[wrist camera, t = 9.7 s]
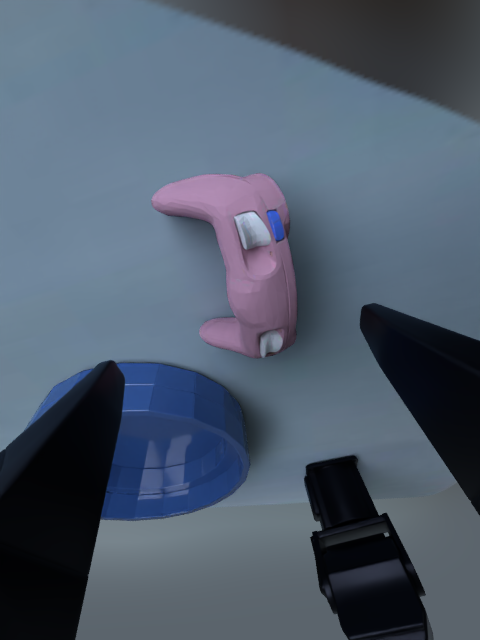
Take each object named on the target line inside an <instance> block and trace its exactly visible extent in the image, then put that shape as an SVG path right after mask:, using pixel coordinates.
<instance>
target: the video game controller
mask: <svg viewBox="0 0 480 640" xmlns="http://www.w3.org/2000/svg"><path fill="white" fill-rule="evenodd" d="M151 201H152V206H153V207H154V208H155V209H156V210H157V211H159V212H161V213H163V214H166V215H168V216H179V217H190V218H195V219H200V220H204V221H207V222H209V223H210V224H212V225H213V227H214V229H215V232H216V237H217V241H218V245H219V247H220V250H221V253H222V256H223V260H224V263H225V267H226V282H227V296H228V300H229V304H230V307H231V309H232V311H233V313H234V315H235V317H236V318H233V317H224V318H216V319H212V320H209V321H206V322H205V323H204V324H203V325H202V326H201V327H200V330H199V332H200V336H201V338H202V339H203V340H204V341H205V342H206V343H208V344H210V345H212V346H215V347H218V348H222V349H226V350H231V351H235V352H238V353H241V354H243V355H246V356H248V357H251V358H263V357H268V356H273V355H276V354H278V353H280V352H282V351H284V350H285V349H287V348H288V347H290V346H291V345H293V344H294V343H295V341H296V336H297V334H296V329H295V328H296V322H297V289H296V280H295V272H294V266H293V261H292V255H291V252H290V248H289V244H288V240H287V239H288V235H289V230H290V218H289V211H288V207H287V204H286V201H285V198H284V195H283V193H282V192H281V190H280V188H279V187H278V185H277V184H276V183H275V181H274V180H273V179H271V178H270V177H269V176H267V175H265V174H261V173H256V174H253V175H249V176H246V177H239V176H235V175H223V174H208V175H200V176H196V177H191V178H188V179H184V180H180V181H177V182H173V183H171V184H168V185H166V186H164V187H163V188H161V189H160V190H158V191H157V192H156V193H155V194H154V195H153V197H152V200H151Z"/></svg>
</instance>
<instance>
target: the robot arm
mask: <svg viewBox="0 0 480 640" xmlns="http://www.w3.org/2000/svg"><path fill="white" fill-rule="evenodd" d="M360 329H361V332H362V333H363V335H364V337H365V339H366V341H367V343H368V345H369V347H370V349H371V351H372V353H373V355H374V357H375V359H376V361H377V362H378V364H379V366H380V368H381V369H382V371H383V372H384V374H385V375H386V377H387V378H388V380H389V381H390V383H391V384H392V386H393V387H394V389H395V390H396V392H397V393H398V395H399V396H400V398H401V399H402V401H403V402H404V404H405V405H406V406H407V408H408V409H409V411H410V412H411V414H412V415H413V417H414V418H415V420H416V421H417V423H418V424H419V426H420V427H421V429H422V430H423V432H424V433H425V435H426V436H427V438H428V439H429V441H430V442H431V444H432V445H433V447H434V448H435V450H436V451H437V453H438V454H439V456H440V457H441V458H442V460H443V461H444V463H445V464H446V466H447V467H448V469H449V470H450V472H451V473H452V475H453V476H454V478H455V479H456V481H457V482H458V483H459V485H460V487H461V488H462V490H463V491H464V493H465V494H466V496H467V497H468V499H469V500H470V501H471V503H472V505H473V506H474V507H475V509H476V511H477V512H478V514H479V515H480V341H478V340H476V339H473V338H470V337H467V336H465V335H462V334H459V333H456V332H454V331H451V330H448V329H445V328H442V327H440V326H437V325H434V324H431V323H429V322H426V321H423V320H420V319H418V318H415V317H412V316H409V315H406V314H404V313H401V312H398V311H395V310H393V309H390V308H387V307H384V306H382V305H379V304H376V303H372V304H368V305H364V306H363V307H362V309H361V316H360ZM124 389H125V377H124V374H123V373H122V371H121V370H120V368H119V367H118V366H117V364H116V363H115V362H114V361H113V360H109V361H105V362H101V363H100V364H98V365H97V366H96V367H95V368H94V369H93V370H92V371H91V372H89V373H88V374H87V375H86V376H85V377H84V378H83V379H82V380H81V381H79V382H78V383H77V384H76V385H75V386H74V387H73V388H72V389H71V390H69V391H68V392H67V393H66V394H65V395H64V396H63V397H62V398H61V399H59V400H58V401H57V402H56V403H55V404H54V405H53V406H52V407H51V408H49V409H48V410H47V411H46V412H45V413H44V414H43V415H42V416H41V417H39V418H38V419H37V420H36V421H35V422H34V423H33V424H32V425H31V426H29V427H28V428H27V429H26V430H25V431H24V432H23V433H22V434H20V435H19V436H18V437H17V438H16V439H15V440H14V441H13V442H12V443H10V444H9V445H8V446H7V447H6V449H4V450H3V451H1V452H0V640H75V638H76V633H77V628H78V624H79V619H80V614H81V609H82V604H83V600H84V595H85V591H86V586H87V581H88V574H89V570H90V566H91V561H92V556H93V552H94V547H95V542H96V537H97V533H98V528H99V523H100V519H101V514H102V509H103V505H104V500H105V495H106V490H107V486H108V481H109V476H110V471H111V467H112V462H113V457H114V453H115V448H116V443H117V438H118V434H119V429H120V424H121V418H122V409H123V399H124ZM357 463H358V459H357V457H356V456H350V457H345V458H340V459H335V460H330V461H325V462H320V463H315V464H310V465H307V466H306V474H307V476H305V478H304V481H305V488H306V491H307V495H308V498H309V502H310V506H311V509H312V512H313V516H314V520H315V521H320V523H321V527H322V531H318V532H317V531H314V532H312V534H313V536H312V537H310V538H311V542H312V546H313V550H314V554H315V560H316V566H317V574H318V581H319V587H320V591H321V593H322V594H323V595H324V596H325V597H326V598H327V600H328V603H329V604H330V607H331V609H332V611H333V613H334V614H338V617H339V621H340V625H341V628H342V630H343V632H344V633H345V635H346V636H347V638H348V639H349V640H433V632H432V629H431V626H430V623H429V620H428V617H427V613H426V611H425V608H424V606H423V604H422V601H421V599H420V597H421V596H425V595H426V594H425V591H424V589H423V586H422V584H421V582H420V580H419V577H418V575H417V573H416V571H415V569H414V566H413V564H412V562H411V560H410V558H409V556H408V554H407V552H406V550H405V548H404V546H403V544H402V543H401V540H400V539H399V536H398V535H397V533H396V530H395V528H394V526H393V524H392V523H391V521H390V519H389V517H388V515H387V513H383V514H382V515H380V516H379V515H378V512H377V510H376V508H375V506H374V504H373V501H372V499H371V497H370V495H369V493H368V490H367V488H366V486H365V484H364V482H363V479H362V477H361V475H360V473H359V471H358V468H357ZM386 532H388V533H389V536H388V537H385V535H384V533H386Z"/></svg>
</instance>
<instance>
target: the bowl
mask: <svg viewBox="0 0 480 640" xmlns="http://www.w3.org/2000/svg"><path fill="white" fill-rule="evenodd" d="M117 366H118V367H119V368H120V370H121V371H122V373H123V374H124V377H125V389H124V399H123V409H122V418H121V424H120V429H119V434H118V438H117V443H116V448H115V453H114V457H113V462H112V467H111V471H110V476H109V481H108V486H107V490H106V495H105V500H104V505H103V509H102V514H101V519H104V520H127V521H136V520H150V519H162V518H168V517H173V516H178V515H184V514H188V513H192V512H195V511H198V510H201V509H203V508H207V507H209V506H212V505H214V504H216V503H218V502H220V501H221V500H223V499H225V498H227V497H228V496H230V495H232V494H233V493H234V492H235V491H236V490H237V489H238V488H239V487H240V486H241V485H242V484H243V483H244V482H245V481H246V478H247V475H248V471H249V468H250V457H249V450H248V442H247V435H246V427H245V420H244V417H243V414H242V411H241V408H240V405H239V403H238V402H237V401H236V400H235V399H234V397H233V396H232V395H231V394H230V393H229V392H228V391H227V390H226V389H225V388H224V387H223V386H221V385H219V384H218V383H216V382H214V381H212V380H210V379H208V378H206V377H204V376H202V375H200V374H198V373H196V372H193V371H189V370H185V369H180V368H176V367H172V366H168V365H163V364H159V363H120V364H119V363H118V364H117ZM92 370H93V369H90V370H85V371H82V372H80V373H78V374H76V375H74V376H72V377H71V378H69V379H67V380H65V381H63V382H61V383H60V384H58V385H56V386H54V387H53V389H52V390H51V391H50V393H49V394H48V395H47V397H46V398H45V399H44V401H43V402H42V403H41V405H40V406H39V408H38V409H37V411H36V412H35V414H34V415H33V417H32V419H31V420H30V422H29V423H28V425H27V427H26V428H25V430H26V429H27V428H28V427H29V426H31V425H32V424H33V423H34V422H35V421H36V420H37V419H38V418H39V417H41V416H42V415H43V414H44V413H45V412H46V411H47V410H48V409H49V408H51V407H52V406H53V405H54V404H55V403H56V402H57V401H58V400H59V399H61V398H62V397H63V396H64V395H65V394H66V393H67V392H68V391H69V390H71V389H72V388H73V387H74V386H75V385H76V384H77V383H78V382H79V381H81V380H82V379H83V378H84V377H85V376H86V375H87V374H88V373H89V372H91V371H92ZM25 430H24V431H25ZM24 431H23V432H24Z"/></svg>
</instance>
